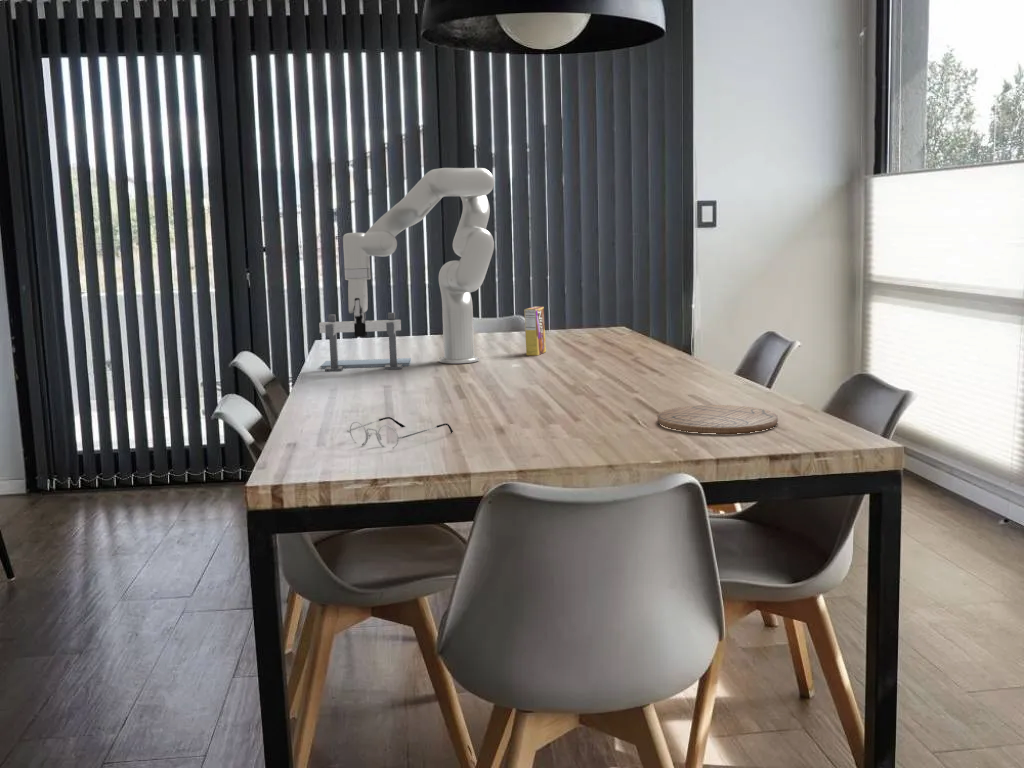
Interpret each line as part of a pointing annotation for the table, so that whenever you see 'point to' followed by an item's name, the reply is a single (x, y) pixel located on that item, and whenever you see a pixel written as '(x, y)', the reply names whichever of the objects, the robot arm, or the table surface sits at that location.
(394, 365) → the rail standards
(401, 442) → the table surface
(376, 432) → the eyeglasses
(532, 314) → the candy box
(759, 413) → the trivet
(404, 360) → the rubber mat
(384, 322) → the steel rail
